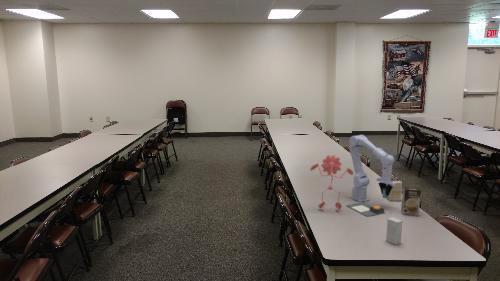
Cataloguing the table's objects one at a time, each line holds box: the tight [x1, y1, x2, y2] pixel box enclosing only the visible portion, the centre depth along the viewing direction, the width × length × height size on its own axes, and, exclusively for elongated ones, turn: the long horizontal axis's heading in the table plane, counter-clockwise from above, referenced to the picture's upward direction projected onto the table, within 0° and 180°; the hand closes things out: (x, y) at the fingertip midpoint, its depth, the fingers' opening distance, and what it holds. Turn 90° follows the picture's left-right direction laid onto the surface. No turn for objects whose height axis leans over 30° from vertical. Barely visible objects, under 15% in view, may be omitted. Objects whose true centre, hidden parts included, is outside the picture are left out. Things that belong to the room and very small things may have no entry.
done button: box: [373, 205, 382, 210], centre depth 227 cm, size 4×4×2 cm
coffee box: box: [400, 186, 422, 217], centre depth 225 cm, size 9×6×16 cm
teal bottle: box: [381, 188, 388, 199], centre depth 234 cm, size 3×3×6 cm
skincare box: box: [385, 216, 403, 245], centre depth 188 cm, size 6×4×12 cm
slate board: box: [345, 201, 386, 218], centre depth 232 cm, size 20×14×3 cm
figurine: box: [309, 154, 354, 214], centre depth 231 cm, size 15×26×35 cm, turn 84°
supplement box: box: [386, 180, 403, 202], centre depth 248 cm, size 8×5×13 cm, turn 92°
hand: (385, 194), depth 234 cm, fingers closed on teal bottle, 3 cm apart
